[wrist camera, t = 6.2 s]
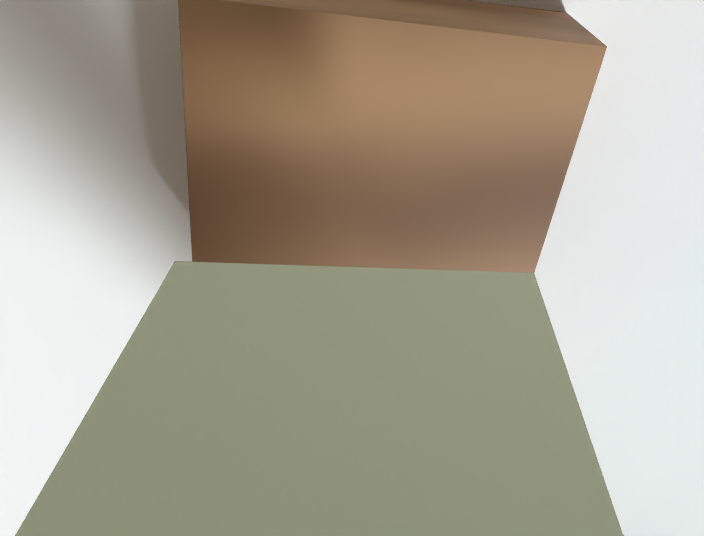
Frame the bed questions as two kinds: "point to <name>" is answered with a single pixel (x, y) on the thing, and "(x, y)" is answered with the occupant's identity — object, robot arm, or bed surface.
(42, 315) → the bed surface
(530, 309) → the sage cube
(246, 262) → the walnut block
